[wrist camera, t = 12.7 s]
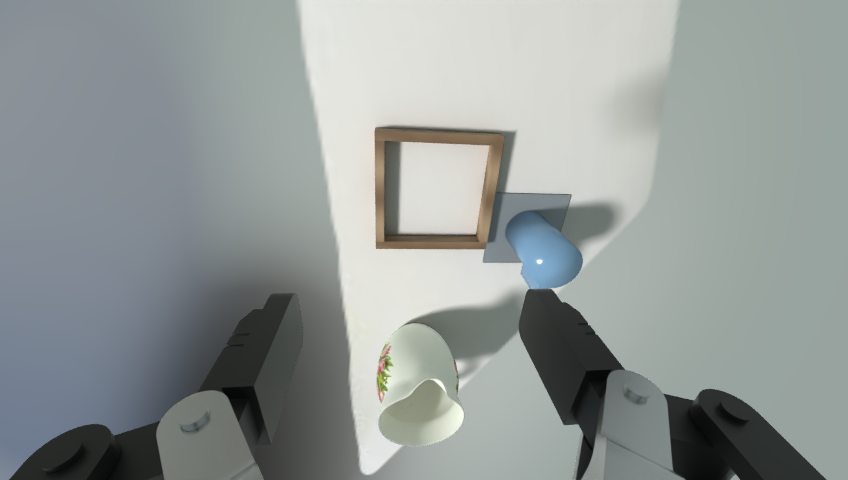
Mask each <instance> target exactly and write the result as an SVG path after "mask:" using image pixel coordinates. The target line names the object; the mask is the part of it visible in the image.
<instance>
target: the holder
mask: <svg viewBox="0 0 848 480" xmlns="http://www.w3.org/2000/svg"><path fill="white" fill-rule="evenodd" d="M504 139H505V136H503V135H501V134H494V133H473V132H452V131H431V130H410V129H389V128H375V204H376V249H486V246H487V240H488V234H489V228H490V222H491V216H492V210H493V204H494V198H495V192H496V187H497V181H498V175H499V169H500V163H501V157H502V151H503V145H504ZM385 141H401V142H424V143H447V144H471V145H489V152H488V159H487V166H486V172H485V179H484V186H483V192H482V199H481V206H480V212H479V219H478V226H477V233H476V236H427V235H384V173H385Z"/></svg>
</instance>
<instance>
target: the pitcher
mask: <svg viewBox="0 0 848 480" xmlns="http://www.w3.org/2000/svg"><path fill="white" fill-rule="evenodd" d="M458 382H459V381H458V371H457V367H456V363H455V360H454V357H453V355H452V352H451V350H450V348H449V347H448V345H447V343H446V342H445V340H444V339H443V338H442V337H441V336H440V334H439V333H437V332H436V331H435V330H434V329H432V328H430V327H428V326H427V325H424V324H421V323H410V324H407V325H404V326H402V327H400V328H399V329H398V330H397V331H395V332H394V333H393V334H392V335H391V336H390V338H389V339H388V341H387V342H386V344H385V346H384V348H383V351H382V353H381V356H380V359H379V364H378V369H377V390H378V395H379V399H380V402H381V409H380V413H379V417H378V428H379V430H380V432H381V433H382V435H383V436H384V437H385V438H387V439H388V440H390V441H392V442H394V443H396V444H400V445H404V446H426V445H431V444H435V443H438V442H440V441H442V440H444V439H447V438H448V437H450V436H451V435H453V434H454V433H455V432H456V431H457V430H458V429H459V428H460V426H461V425H462V423H463V421H464V410H463V407H462V405H461V403H460V401H459V398H458V396H457V394H458Z"/></svg>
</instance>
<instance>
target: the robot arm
mask: <svg viewBox="0 0 848 480" xmlns="http://www.w3.org/2000/svg"><path fill="white" fill-rule="evenodd" d="M519 332H520V336H521V339H522V341H523V343H524V345H525V347H526V350H527V352H528V353H529V355H530V358H531V359H532V362H533V364H534V366H535V368H536V370H537V371H538V373H539V376H540V378H541V380H542V382H543V384H544V386H545V388H546V389H547V392H548V394H549V396H550V398H551V400H552V402H553V404H554V406H555V408H556V410H557V412H558V414H559V416H560V418H561V420H562V422H563V424H564V425H574V424H579V426H580V428H581V430H582V434H581V436H580V439H579V445H578V451H577V456H576V462H575V468H574V474H573V480H730V479H731V478H732V477H733V476H734V475H735V474H736V475H737V476H738V477H739V478H740V480H826V479H825V478H824V477H823V476H822V475H821V474H820V473H819V472H818V471H817V470H816V469H815V468H814V467H813V466H812V465H811V464H810V463H809V462H808V461H807V460H806V459H805V458H803V456H801V454H799V453H798V452H797V451H796V450H795V449H794V448H793V447H792V446H791V445H790V444H789V443H788V442H787V441H786V440H785V439H784V438H783V437H782V436H781V435H780V434H779V433H778V432H777V431H776V430H775V429H774V428H773V427H772V426H771V425H770V424H769V423H768V422H767V421H766V420H765V419H764V418H763V417H762V416H761V415H760V414H759V413H758V412H756V411H755V410H754V409H753V408H752V407H750V406H749V405H748V404H746V403H745V402H743V401H742V400H740V399H738V398H737V397H735V396H732V395H731V394H728V393H726V392H723V391H719V390H715V389H705V390H702V391H701V392H700V393H699V395H698V396H697V397H696V399H695V400H694V401H693V400H689V399H684V398H680V397H675V396H671V395H666V394H663V393H662V392H661V390H660V389H659V388H658V387H657V386H656V385H655V384H654V383H652V382H651V381H650V380H648V379H647V378H645V377H643V376H642V375H640V374H637V373H635V372H632V371H627V370H625V369H624V368H623V367H622V365H621V364H620V363H619V362H618V361H617V359H616V358H615V357H614V356H613V354H612V353H611V352H610V350H609V349H608V348H607V346H606V345H605V344H604V343H603V342H602V340H601V339H600V338H599V336H598V335H596V334H595V331H594V330H593V329H592V328H591V326H590V325H588V323H587V321H586V320H585V319H584V318H583V316H582V315H581V314H580V312H578V311H577V310H576V309H574V308H573V307H572V306H570V305H569V304H567V303H565V302H563V303H562V302H561V301H560V300H559V298H558V297H557V295H556V294H555V293H554V291H553V290H552V289H529V290H528V291H527V293H526V296H525V300H524V304H523V308H522V312H521V317H520V321H519ZM303 334H304V332H303V324H302V317H301V311H300V305H299V299H298V295H297V294H296V293H274V294H271V295H270V297H269V298H268V300H267V302H266V304H265V306H264V308H263V309H255V310H252V311H251V312H250V313H249V314H248V315H247V316H245V317H244V318H243V319H242V320H241V321H240V322H239V324H238V325H237V327H236V329H235V330H234V332H233V334H232V337H230V339H229V341H228V342H227V344H226V348H224V349H223V351H222V352H221V354H220V356H219V357H218V359H217V361H216V362H215V364H214V366H213V367H212V369H211V371H210V372H209V374H208V376H207V377H206V379H205V381H204V383H203V384H202V386H201V387H200V389H199V391H198V392H197V393H196V394H193V395H191V396H188V397H187V398H185V399H183V400H181V401H180V402H179V403H177V404H176V405H175V406H173V407H172V408H171V409H170V410H169V411H168V412H167V413H166V414H165V415H164V417H163V418H162V420H161V421H158V422H156V423H153V424H150V425H146V426H143V427H140V428H137V429H134V430H131V431H127V432H124V433H121V434H118V435H115V436H113V434H112V433H111V431H110V430H109V429H108V428H107V427H106V426H103V425H99V424H91V425H85V426H81V427H77V428H75V429H72V430H69V431H67V432H65V433H63V434H61V435H59V436H57V437H56V438H54V439H52V440H51V441H49V442H48V443H46V444H45V445H43V446H42V447H41V448H39V449H38V450H37V451H36V452H34V453H33V454H32V455H31V456H30V457H29V458H28V459H27V460H26V461H25V462H24V463H23V465H22V466H21V467H20V468H19V469H18V470H17V471H16V473H15V474H14V475H13V476H12V477H11V478H10V479H9V480H263V477H262V475H261V473H260V470H259V468H258V466H257V464H256V463H255V461H254V459H253V455H254V453H255V450H256V447H257V445H267V444H271V443H272V439H273V436H274V433H275V430H276V427H277V424H278V421H279V417H280V414H281V411H282V408H283V404H284V401H285V398H286V395H287V392H288V389H289V386H290V382H291V379H292V376H293V373H294V370H295V367H296V363H297V360H298V357H299V354H300V351H301V348H302V343H303Z"/></svg>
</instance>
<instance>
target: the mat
mask: <svg viewBox="0 0 848 480" xmlns="http://www.w3.org/2000/svg"><path fill="white" fill-rule="evenodd" d="M570 197H571V195H563V194H523V193H495V198H494V204H493V210H492V216H491V222H490V228H489V234H488V240H487V246H486V249H485V251H484V257H483V263H522V261H521V260H520V258H519V257H518V256H517V254H516V253H515V251H514V250H513V248H512V247H511V246H510V244H509V243H508V241H507V239H506V236H505V230H506V227H507V224H508V223H509V221H510V220H511V219H512V218H513V217H514V216H515V215H517V214H519V213H521V212H524V211H535V212H538V213H540V214H541V215H542V216H543V217H544V218H545V219H546V220H547V221H548V222H549V223H550V224H552V225H553V226H554V227H555V228H556V229H557V230H558V231H559V232H561V229H562V225H563V222H564V218H565V215H566V211H567V208H568V204H569V201H570Z"/></svg>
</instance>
